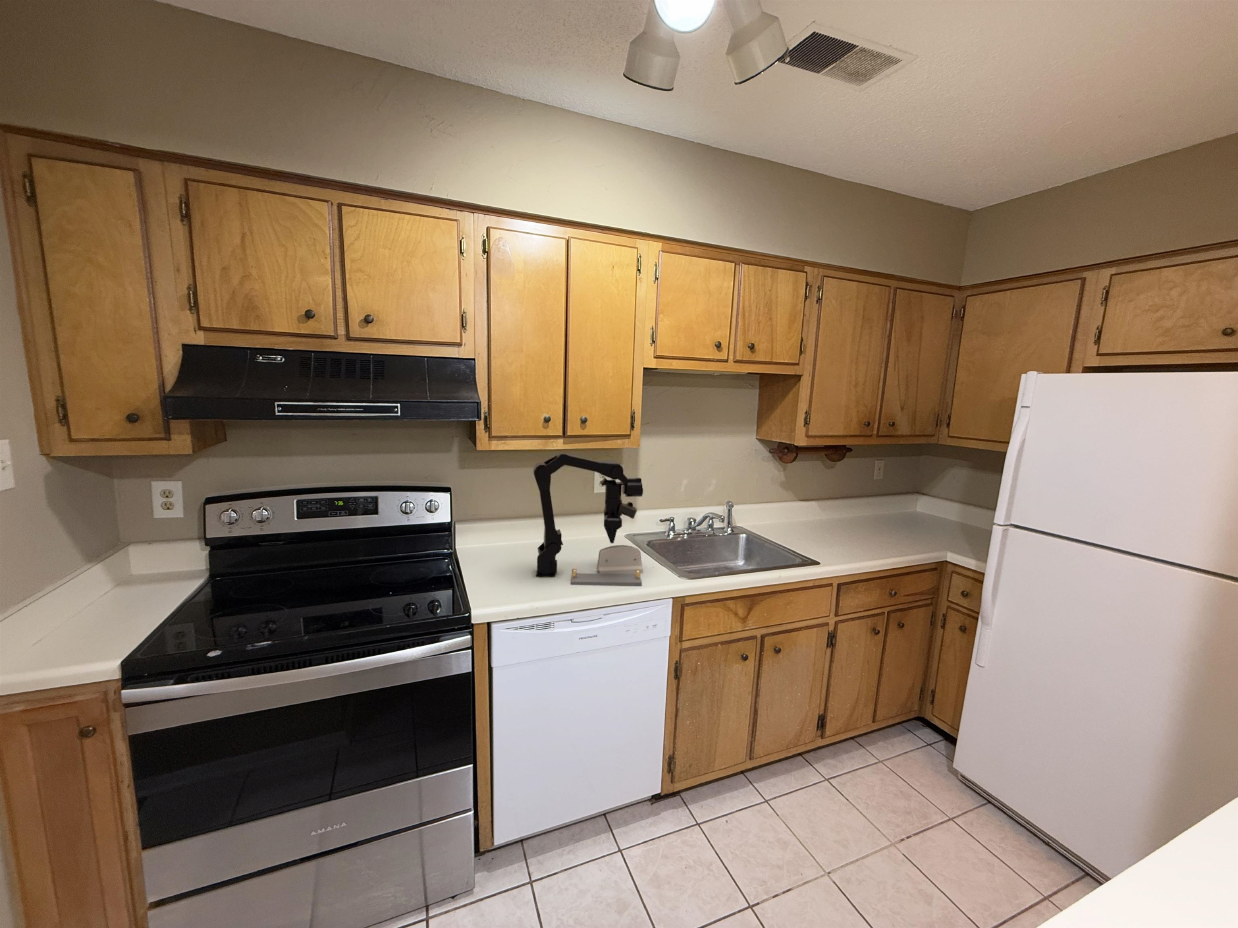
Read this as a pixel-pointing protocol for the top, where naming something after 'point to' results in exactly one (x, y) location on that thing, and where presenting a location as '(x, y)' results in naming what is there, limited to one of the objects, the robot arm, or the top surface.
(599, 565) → the curved beige panel
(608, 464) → the robot arm
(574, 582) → the plate
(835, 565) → the top surface
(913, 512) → the top surface
